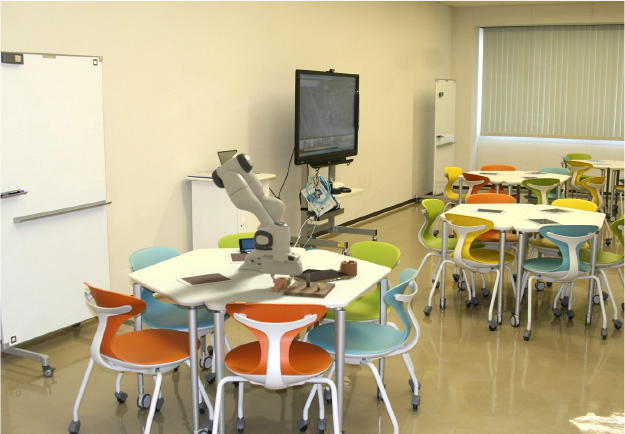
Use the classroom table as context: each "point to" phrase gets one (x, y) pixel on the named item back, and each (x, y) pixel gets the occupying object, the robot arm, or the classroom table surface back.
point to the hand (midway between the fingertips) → (282, 283)
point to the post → (307, 280)
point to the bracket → (349, 267)
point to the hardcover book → (322, 276)
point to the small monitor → (246, 245)
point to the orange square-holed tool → (280, 283)
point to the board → (309, 289)
